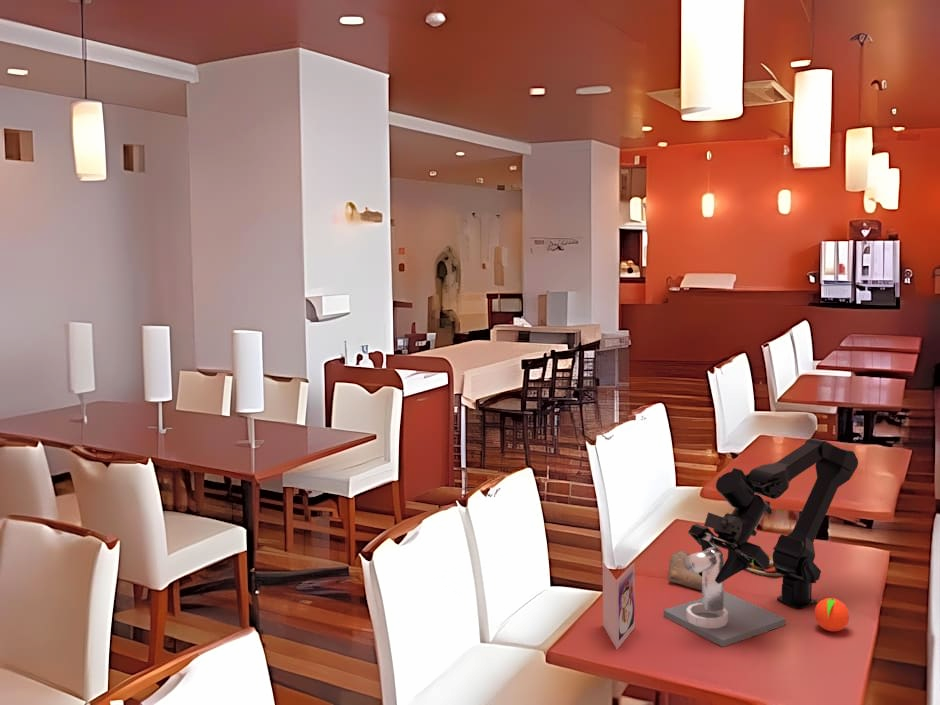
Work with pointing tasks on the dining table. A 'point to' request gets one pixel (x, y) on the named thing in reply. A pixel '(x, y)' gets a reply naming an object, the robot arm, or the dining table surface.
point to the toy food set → (768, 572)
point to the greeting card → (618, 604)
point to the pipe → (683, 571)
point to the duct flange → (725, 620)
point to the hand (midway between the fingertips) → (708, 578)
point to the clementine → (831, 614)
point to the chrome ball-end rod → (709, 576)
